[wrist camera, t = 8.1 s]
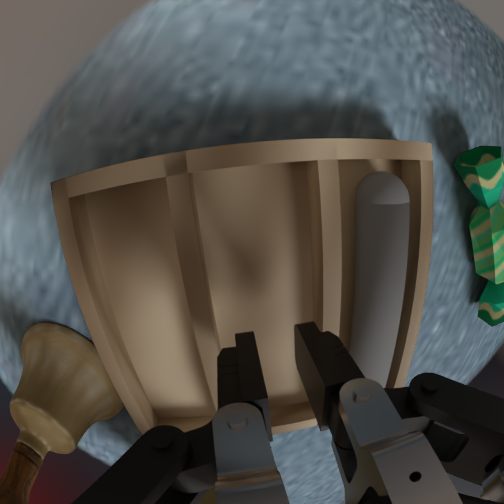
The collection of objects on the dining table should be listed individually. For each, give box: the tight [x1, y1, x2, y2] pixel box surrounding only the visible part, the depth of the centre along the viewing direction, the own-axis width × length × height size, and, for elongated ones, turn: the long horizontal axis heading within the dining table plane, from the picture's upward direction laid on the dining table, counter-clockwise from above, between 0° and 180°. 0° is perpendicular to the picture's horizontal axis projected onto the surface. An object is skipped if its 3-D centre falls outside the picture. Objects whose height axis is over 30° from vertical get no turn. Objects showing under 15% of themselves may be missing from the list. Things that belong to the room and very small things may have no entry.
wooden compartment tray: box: [51, 138, 434, 435], centre depth 13 cm, size 16×15×2 cm
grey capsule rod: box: [349, 171, 410, 388], centre depth 12 cm, size 2×12×2 cm, turn 6°
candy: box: [454, 146, 504, 327], centre depth 13 cm, size 12×3×4 cm, turn 30°
